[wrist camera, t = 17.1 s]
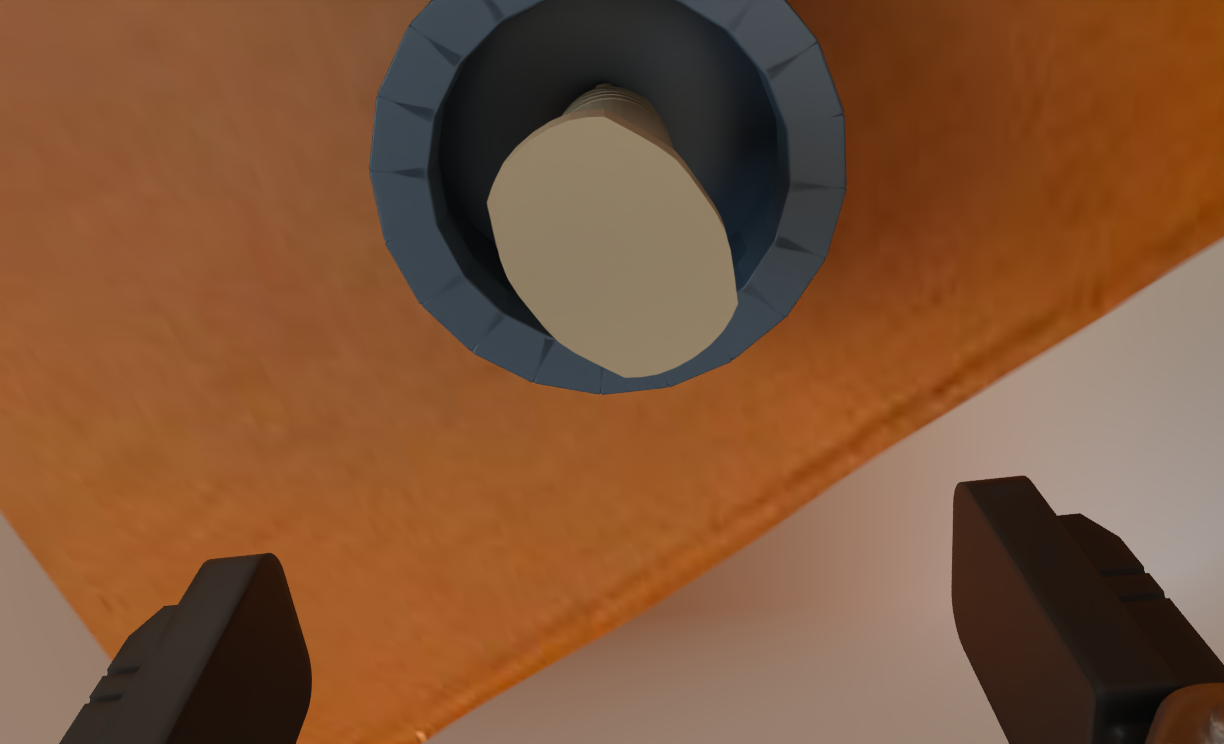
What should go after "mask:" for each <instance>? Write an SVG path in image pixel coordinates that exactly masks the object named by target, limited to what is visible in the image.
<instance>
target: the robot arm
mask: <svg viewBox="0 0 1224 744" xmlns="http://www.w3.org/2000/svg"><path fill="white" fill-rule="evenodd" d="M952 546H953V547H952V606H953V613H954V618H955V624H956V628H957V632H958V635H959V639H960V641H961V644H962V646H963V649H964V651H965V653H966V655H967V657H968V659H969V661H970V663H971V665H972V667H973V670H974V671H975V674H976V676H977V678H978V680H979V681H980V684H981V686H982V688H983V690H984V692H985V694H986V696H987V698H988V701H989V702H990V704H991V706H992V709H993V711H994V713H995V715H996V717H997V719H998V721H999V723H1000V725H1001V727H1002V729H1003V732H1004V734H1005V736H1006V738H1007V740H1008V742H1009V744H1224V665H1223V663H1222V662H1221V661H1220V660H1219V659H1218V657H1217V656H1216V655H1215V654H1214V652H1213V651H1212V650H1211V649H1210V647H1209V646H1208V645H1207V644H1206V643H1205V641H1204V640H1203V639H1202V638H1201V636H1200V635H1199V634H1198V633H1197V631H1196V630H1195V629H1194V628H1193V627H1192V625H1191V624H1190V623H1189V622H1188V621H1187V619H1186V618H1185V617H1184V615H1182V613H1181V612H1180V611H1179V609H1178V608H1177V607H1176V606H1175V605H1174V603H1173V602H1172V601H1171V600H1170V598H1165V596H1164V591H1163V590H1162V589H1161V587H1160V586H1159V585H1158V584H1157V582H1156V581H1155V580H1154V579H1153V577H1152V576H1151V575H1150V574H1149V573H1145V571H1144V567H1143V565H1142V564H1141V563H1140V562H1139V560H1138V559H1137V558H1136V557H1135V556H1134V554H1133V553H1132V552H1131V551H1130V549H1129V548H1128V547H1127V546H1126V544H1125V543H1124V542H1123V541H1122V540H1121V538H1120V537H1119V536H1117V535H1115V534H1114V533H1111V532H1110V531H1108V530H1107V529H1105V528H1103V527H1102V526H1100V525H1099V524H1097V523H1095V522H1094V521H1092V520H1090V519H1088V518H1087V517H1085V516H1084V515H1082V514H1080V513H1079V514H1069V515H1061V516H1057V515H1056V514H1055V513H1054V511H1053V510H1052V509H1051V507H1050V506H1049V505H1048V503H1047V502H1046V500H1045V499H1044V498H1043V496H1042V495H1041V494H1040V492H1039V491H1038V490H1037V488H1036V487H1035V485H1034V484H1033V483H1032V482H1031V480H1030V479H1029V478H1027V477H1026V476H1014V477H1006V478H995V479H986V480H976V481H967V482H960V483H958V484H957V486H956V488H955V492H954V502H953V545H952ZM107 670H108V674H107V676H103V677H102V678H101V680H100V681H99V683H98V684H97V686H96V688H95V689H94V691H93V692H92V694H91V695H90V703H88V704H85V705H84V706H83V708H82V709H81V711H80V712H79V714H78V715H77V717H76V719H75V720H74V722H73V723H72V725H71V726H70V728H69V729H68V731H67V732H66V734H65V736H64V737H63V739H62V740H61V742H60V743H59V744H296V741H297V739H298V736H299V733H300V730H301V728H302V725H303V722H304V719H305V717H306V714H307V711H308V708H309V704H310V698H311V689H312V673H311V664H310V658H309V654H308V650H307V647H306V644H305V640H304V637H303V634H302V630H301V627H300V624H299V620H298V617H297V614H296V610H295V607H294V604H293V600H292V597H291V594H290V590H289V587H288V584H287V580H286V577H285V574H284V571H283V568H282V565H281V563H280V561H279V560H278V558H277V557H276V556H275V555H274V554H272V553H265V554H256V555H246V556H237V557H227V558H218V559H210V560H207V561H206V562H205V563H204V564H203V565H202V566H201V568H200V569H199V571H198V573H197V574H196V576H195V578H194V579H193V581H192V582H191V584H190V586H189V587H188V589H187V591H186V592H185V594H184V596H183V597H182V599H181V601H180V602H179V604H178V605H171V606H164V607H163V608H162V609H160V610H159V611H158V612H157V613H156V614H155V615H153V616H152V617H151V618H150V619H149V620H147V621H146V622H145V623H144V624H143V625H142V626H140V627H139V628H138V629H137V630H136V631H135V632H133V633H132V634H131V635H130V636H129V637H128V638H127V640H126V641H125V643H124V644H123V646H122V647H121V649H120V651H119V652H118V654H117V655H116V657H115V658H114V660H113V661H112V663H111V664H110V666H109V668H108V669H107Z"/></svg>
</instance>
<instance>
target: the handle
mask: <svg viewBox="0 0 1224 744" xmlns="http://www.w3.org/2000/svg"><path fill="white" fill-rule="evenodd" d="M487 206H488V210H489V215H490V219H491V224H492V228H493V233H494V237H495V241H496V245H497V249H498V253H499V257H500V260H501V263H502V265H503V268H504V271H505V273H506V276H507V278H508V280H509V282H510V283H511V285H512V286H513V288H514V289H515V291H516V292H517V294H518V295H519V297H520V298H521V299H522V300H523V302H524V303H525V304H526V305H527V307H528V308H529V309H530V310H531V312H532V313H533V314H534V315H535V316H536V318H537V319H538V320H539V321H540V323H541V324H542V325H543V326H544V328H545V329H546V330H547V331H548V332H549V333H550V334H551V335H552V336H553V337H554V338H555V339H556V340H557V341H558V342H559V343H561V344H562V345H564V346H565V347H567V348H568V349H570V350H571V351H573V352H574V353H576V354H578V355H580V356H582V357H584V358H586V359H588V360H590V361H592V362H594V363H595V364H597V365H600V366H602V367H604V368H606V369H608V370H610V371H612V372H614V373H616V374H618V375H620V376H622V377H625V378H631V377H645V376H651V375H657V374H660V373H663V372H665V371H668V370H671V369H673V368H676V367H678V366H679V365H681V364H683V363H685V362H687V361H689V360H690V359H692V358H694V357H695V356H696V355H698V354H699V353H700V352H702V351H703V350H704V349H706V348H707V347H708V346H710V345H711V344H712V342H713V341H714V340H715V339H716V338H717V337H718V336H719V335H720V334H721V333H722V332H723V331H724V329H725V328H726V326H727V324H728V323H729V321H730V320H731V318H732V316H733V314H734V311H735V309H736V307H737V305H738V300H737V292H736V284H735V276H734V269H733V262H732V256H731V249H730V246H729V242H728V239H727V235H726V232H725V227H724V224H723V221H722V219H721V216H720V214H719V212H718V210H717V209H716V207H715V205H714V203H713V202H712V200H711V199H710V197H709V196H708V194H707V193H706V191H705V190H704V188H703V187H702V185H701V184H700V182H699V181H698V180H697V178H696V177H695V175H694V174H693V173H692V171H691V170H690V168H689V167H688V166H687V164H686V163H685V162H684V160H683V159H682V158H681V157H680V156H679V155H678V153H677V152H676V151H675V150H674V149H673V145H672V142H671V139H670V136H669V134H668V131H667V129H666V126H665V125H664V123H663V121H662V120H661V118H660V116H659V115H658V113H657V112H656V110H655V109H654V108H653V107H652V105H651V103H650V102H649V101H648V100H647V99H646V98H645V97H644V96H641V95H639V94H637V93H635V92H633V91H631V90H629V89H625V88H621V87H614V86H613V85H612V84H611V83H610V82H603V83H599V84H597V85H596V87H595V89H593V90H590V91H588V92H586V93H584V94H583V95H581V96H580V97H578V98H577V99H576V100H575V101H574V102H572V103H571V104H570V106H569V107H568V108H567V109H566V110H565V112H564V113H563V115H562V116H561V117H559V118H556V119H554V120H552V121H550V122H548V123H547V124H545V125H544V126H542V127H540V128H539V129H537V130H536V131H534V132H533V133H532V134H530V135H529V136H528V137H527V138H526V139H525V140H524V141H522V142H521V143H520V144H519V145H518V146H517V147H516V148H515V149H514V150H513V152H512V153H511V154H510V155H509V156H508V158H507V159H506V160H505V161H504V163H503V165H502V167H501V169H500V171H499V173H498V175H497V177H496V179H495V181H494V183H493V186H492V189H491V192H490V195H489V198H488V201H487Z"/></svg>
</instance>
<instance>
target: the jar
mask: <svg viewBox="0 0 1224 744" xmlns="http://www.w3.org/2000/svg"><path fill="white" fill-rule="evenodd" d="M817 41H818V40H817V38H816V37H815V35H814V34H813V33H812V32H811V30H810V29H809V28H808V27H807V26H806V24H805V23H804V22H803V21H802V19H801V18H800V17H799V16H798V14H797V13H796V12H795V11H794V9H793V8H792V7H791V6H790V4H789V3H788V2H787V1H786V0H432V1H431V2H430V3H429V4H428V5H427V6H426V7H425V8H424V9H423V10H422V11H421V12H420V13H419V14H418V15H417V16H416V17H415V18H414V20H413V21H412V22H411V24H410V25H409V26H408V27H407V30H406V32H405V34H404V36H403V38H402V41H401V43H400V45H399V47H398V49H397V52H396V54H395V56H394V58H393V60H392V62H391V65H390V67H389V69H388V71H387V73H386V76H385V78H384V80H383V82H382V84H381V87H380V89H379V91H378V93H377V95H378V96H377V97H376V106H375V116H374V125H373V135H372V145H371V154H370V164H369V170H370V177H371V182H372V186H373V191H374V196H375V200H376V205H377V209H378V214H379V219H380V223H381V228H382V232H383V237H384V240H385V241H386V242H385V244H386V246H387V248H388V250H389V251H390V253H391V255H392V257H393V258H394V260H395V262H396V264H397V265H398V267H399V269H400V271H401V272H402V274H403V276H404V277H405V279H406V281H407V283H408V284H409V286H410V288H411V290H412V291H413V293H414V295H415V297H416V298H417V300H418V302H419V303H420V304H422V306H423V307H424V308H425V309H426V310H427V311H428V312H429V313H430V314H431V315H432V316H433V317H435V318H436V319H437V320H438V321H439V322H440V323H441V324H442V325H443V326H444V327H445V328H446V329H447V330H448V331H450V332H451V333H452V334H453V335H454V336H455V337H456V338H457V339H458V340H459V341H460V342H461V343H462V344H463V345H465V346H466V347H467V348H468V349H469V350H470V351H472V352H473V353H474V354H476V355H478V356H480V357H482V358H484V359H486V360H488V361H490V362H492V363H494V364H496V365H498V366H500V367H502V368H504V369H506V370H508V371H510V372H512V373H514V374H516V375H518V376H520V377H522V378H524V379H526V380H528V381H530V382H535V383H536V384H542V385H548V386H554V387H559V388H565V389H571V390H576V391H582V392H588V393H593V394H600V393H601V394H602V395H605V394H614V393H623V392H632V391H641V390H650V389H659V388H667V387H668V386H669V387H672V386H674V385H676V384H679V383H681V382H684V381H686V380H688V379H691V378H693V377H696V376H698V375H700V374H703V373H705V372H708V371H710V370H712V369H715V368H717V367H720V366H722V365H724V364H727V363H729V362H731V361H732V360H734V359H735V358H736V357H738V356H739V355H740V354H741V353H743V352H744V351H745V350H746V349H747V348H749V347H750V346H751V345H752V344H754V343H755V342H756V341H757V340H758V339H760V338H761V337H762V336H763V335H765V334H766V333H767V332H768V331H770V330H771V329H772V328H773V327H774V326H776V325H777V324H778V323H779V322H781V321H782V320H783V319H784V318H785V316H786V317H787V316H788V314H789V313H790V311H791V310H792V308H793V307H794V305H795V304H796V302H797V301H798V299H799V298H800V296H801V295H802V293H803V292H804V291H805V289H806V288H807V286H808V285H809V283H810V282H811V280H812V279H813V277H814V276H815V274H816V273H817V271H818V270H819V268H820V267H821V265H822V264H823V262H824V261H825V258H826V257H827V254H828V251H829V247H830V244H831V240H832V237H833V234H834V230H835V227H836V224H837V220H838V217H839V213H840V210H841V207H842V203H843V200H844V197H845V193H846V188H845V187H846V185H847V182H846V142H845V116H844V114H843V113H844V109H843V107H842V104H841V101H840V98H839V96H838V93H837V90H836V87H835V85H834V82H833V79H832V76H831V74H830V71H829V68H828V65H827V63H826V60H825V57H824V54H823V52H822V49H821V46H820V44H819V42H817ZM603 82H610V83H611V84H612V85H613V86H614V87H621V88H625V89H629V90H631V91H633V92H635V93H637V94H639V95H641V96H644V97H645V98H646V99H647V100H648V101H649V102H650V103H651V105H652V107H653V108H654V109H655V110H656V112H657V113H658V115H659V116H660V118H661V120H662V121H663V123H664V125H665V126H666V129H667V131H668V134H669V136H670V139H671V142H672V145H673V149H674V150H675V151H676V152H677V153H678V155H679V156H680V157H681V158H682V159H683V160H684V162H685V163H686V164H687V166H688V167H689V168H690V170H691V171H692V173H693V174H694V175H695V177H696V178H697V180H698V181H699V182H700V184H701V185H702V187H703V188H704V190H705V191H706V193H707V194H708V196H709V197H710V199H711V200H712V202H713V203H714V205H715V207H716V209H717V210H718V212H719V214H720V216H721V219H722V221H723V224H724V227H725V232H726V235H727V239H728V242H729V246H730V249H731V256H732V262H733V269H734V276H735V284H736V292H737V300H738V305H737V307H736V309H735V311H734V314H733V316H732V318H731V320H730V321H729V323H728V324H727V326H726V328H725V329H724V331H723V332H722V333H721V334H720V335H719V336H718V337H717V338H716V339H715V340H714V341H713V342H712V344H711V345H710V346H708V347H707V348H706V349H704V350H703V351H702V352H700V353H699V354H698V355H696V356H695V357H694V358H692V359H690V360H689V361H687V362H685V363H683V364H681V365H679V366H678V367H676V368H673V369H671V370H668V371H665V372H663V373H660V374H657V375H651V376H645V377H631V378H625V377H622V376H620V375H618V374H616V373H614V372H612V371H610V370H608V369H606V368H604V367H602V366H600V365H597V364H595V363H594V362H592V361H590V360H588V359H586V358H584V357H582V356H580V355H578V354H576V353H574V352H573V351H571V350H570V349H568V348H567V347H565V346H564V345H562V344H561V343H559V342H558V341H557V340H556V339H555V338H554V337H553V336H552V335H551V334H550V333H549V332H548V331H547V330H546V329H545V328H544V326H543V325H542V324H541V323H540V321H539V320H538V319H537V318H536V316H535V315H534V314H533V313H532V312H531V310H530V309H529V308H528V307H527V305H526V304H525V303H524V302H523V300H522V299H521V298H520V297H519V295H518V294H517V292H516V291H515V289H514V288H513V286H512V285H511V283H510V282H509V280H508V278H507V276H506V273H505V271H504V268H503V265H502V263H501V260H500V257H499V253H498V249H497V245H496V241H495V237H494V233H493V228H492V224H491V219H490V215H489V210H488V206H487V201H488V198H489V195H490V192H491V189H492V186H493V183H494V181H495V179H496V177H497V175H498V173H499V171H500V169H501V167H502V165H503V163H504V161H505V160H506V159H507V158H508V156H509V155H510V154H511V153H512V152H513V150H514V149H515V148H516V147H517V146H518V145H519V144H520V143H521V142H522V141H524V140H525V139H526V138H527V137H528V136H529V135H530V134H532V133H533V132H534V131H536V130H537V129H539V128H540V127H542V126H544V125H545V124H547V123H548V122H550V121H552V120H554V119H556V118H559V117H561V116H562V115H563V113H564V112H565V110H566V109H567V108H568V107H569V106H570V104H571V103H572V102H574V101H575V100H576V99H577V98H578V97H580V96H581V95H583V94H584V93H586V92H588V91H590V90H593V89H595V87H596V85H597V84H599V83H603Z"/></svg>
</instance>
